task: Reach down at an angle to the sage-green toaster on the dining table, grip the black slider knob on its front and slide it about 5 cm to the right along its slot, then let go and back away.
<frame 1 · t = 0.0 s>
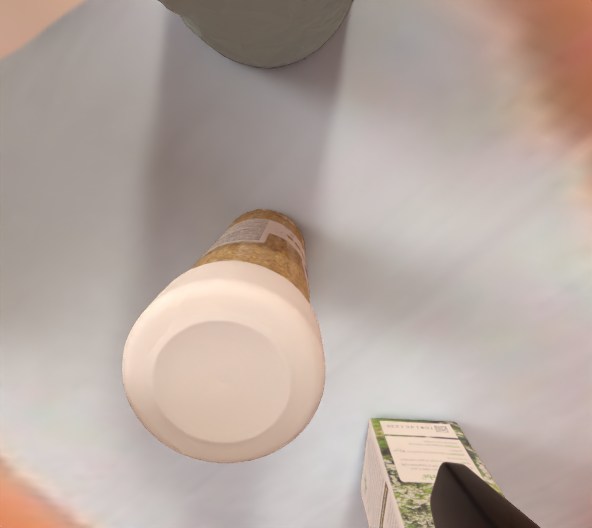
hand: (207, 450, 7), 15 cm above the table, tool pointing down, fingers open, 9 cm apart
sprinkles bottle: (264, 247, 21), on the table
syrup box: (405, 451, 25), on the table
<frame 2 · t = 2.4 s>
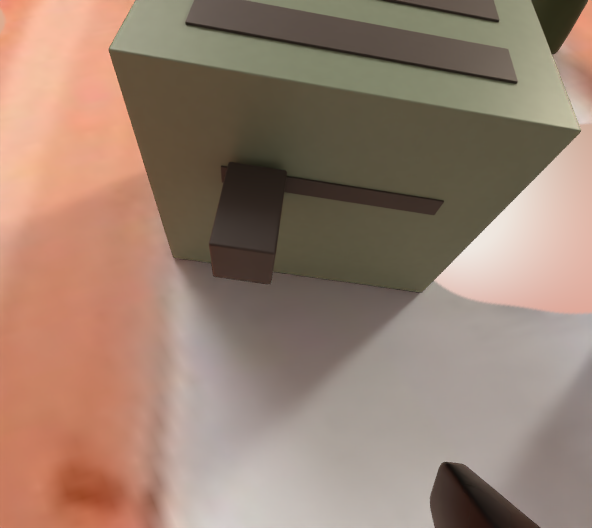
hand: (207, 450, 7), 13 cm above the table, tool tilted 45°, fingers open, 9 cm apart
character mug: (524, 46, 41), on the table
slider: (249, 223, 16), point 9 cm above the table, slide at 0.0 cm
toaster: (306, 212, 27), on the table
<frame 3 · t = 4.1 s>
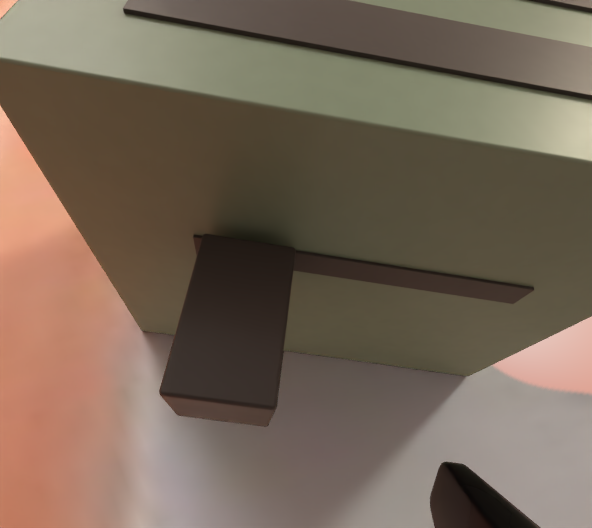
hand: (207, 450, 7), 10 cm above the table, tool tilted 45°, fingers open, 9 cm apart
slider: (236, 331, 10), point 8 cm above the table, slide at 0.0 cm
toaster: (316, 265, 21), on the table
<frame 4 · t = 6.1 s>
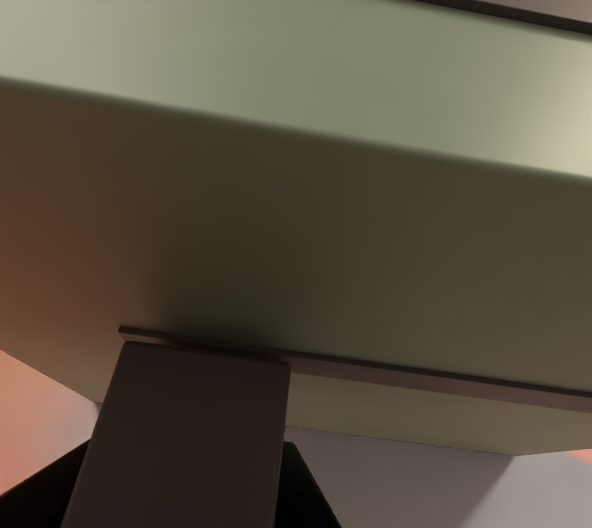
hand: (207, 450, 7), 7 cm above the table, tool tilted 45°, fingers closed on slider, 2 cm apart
slider: (185, 510, 6), point 8 cm above the table, slide at 0.0 cm, touching gripper
toaster: (320, 306, 17), on the table
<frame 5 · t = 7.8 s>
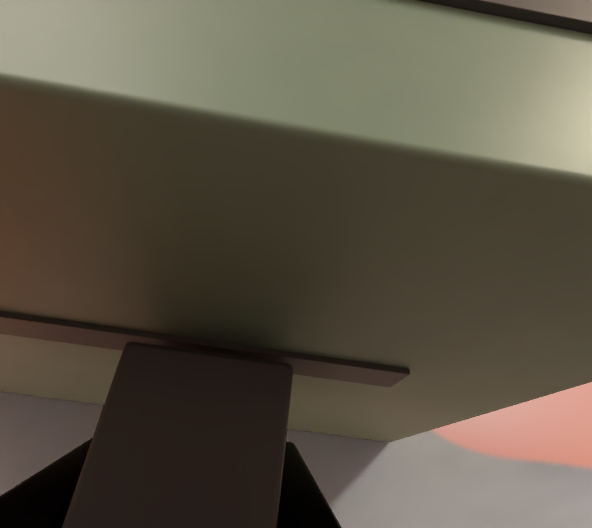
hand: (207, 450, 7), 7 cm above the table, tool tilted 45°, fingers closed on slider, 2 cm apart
slider: (186, 513, 6), point 8 cm above the table, slide at 5.0 cm, touching gripper
toaster: (206, 291, 16), on the table
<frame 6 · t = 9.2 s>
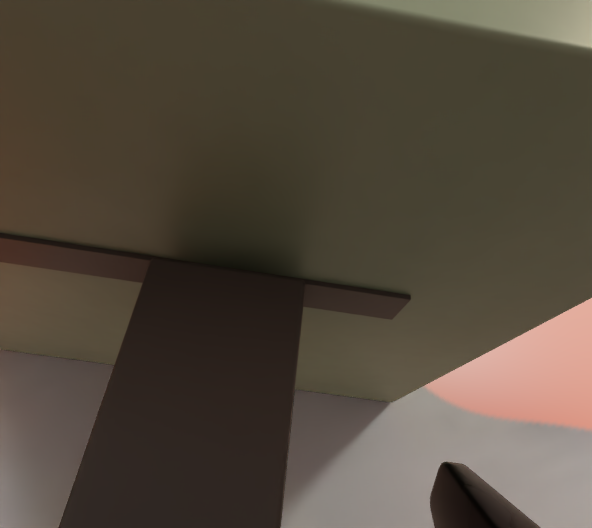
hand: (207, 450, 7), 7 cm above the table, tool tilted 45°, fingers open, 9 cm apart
slider: (207, 416, 6), point 9 cm above the table, slide at 5.0 cm
toaster: (213, 260, 17), on the table
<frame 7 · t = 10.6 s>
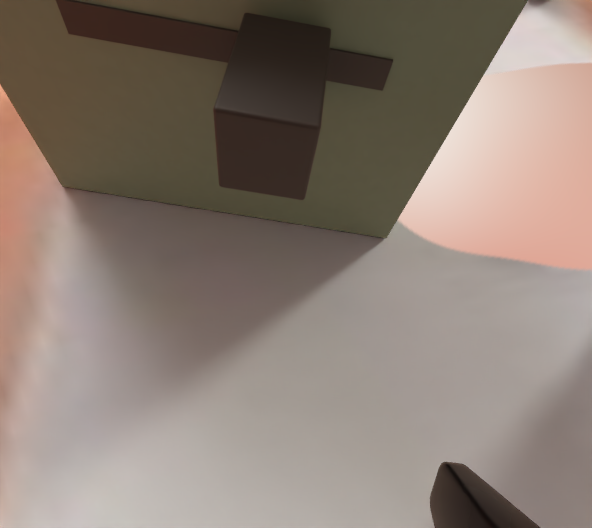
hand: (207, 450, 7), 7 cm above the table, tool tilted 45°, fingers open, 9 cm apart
slider: (274, 107, 10), point 8 cm above the table, slide at 5.0 cm
toaster: (245, 142, 21), on the table
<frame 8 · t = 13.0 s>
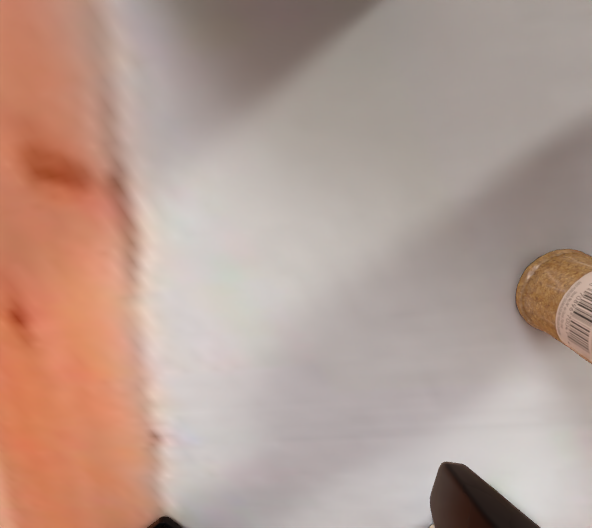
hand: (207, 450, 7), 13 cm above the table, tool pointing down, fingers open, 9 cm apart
sprinkles bottle: (552, 286, 21), on the table
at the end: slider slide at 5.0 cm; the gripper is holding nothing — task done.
